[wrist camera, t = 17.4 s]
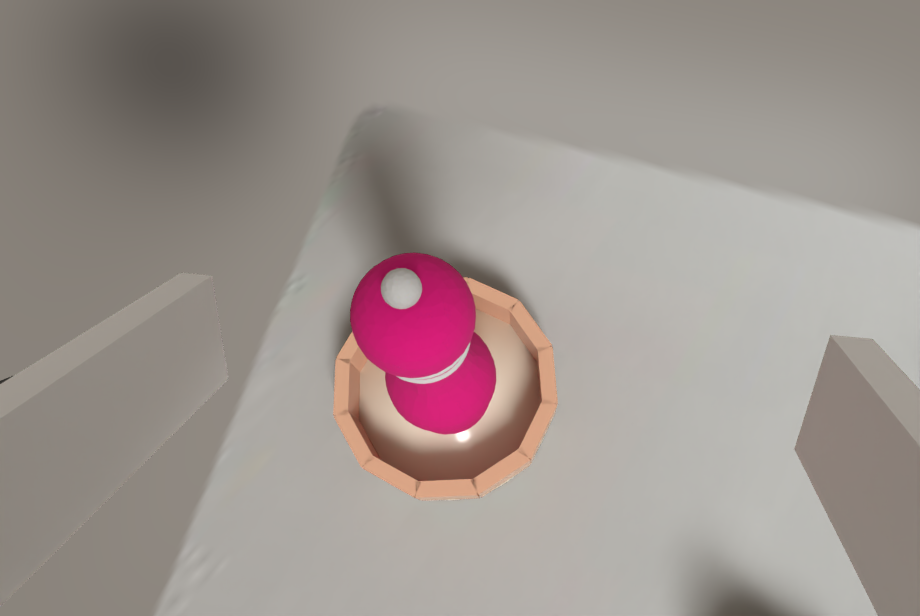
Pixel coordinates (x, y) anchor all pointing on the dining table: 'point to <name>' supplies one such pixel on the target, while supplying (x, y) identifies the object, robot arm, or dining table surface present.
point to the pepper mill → (425, 341)
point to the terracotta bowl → (474, 450)
